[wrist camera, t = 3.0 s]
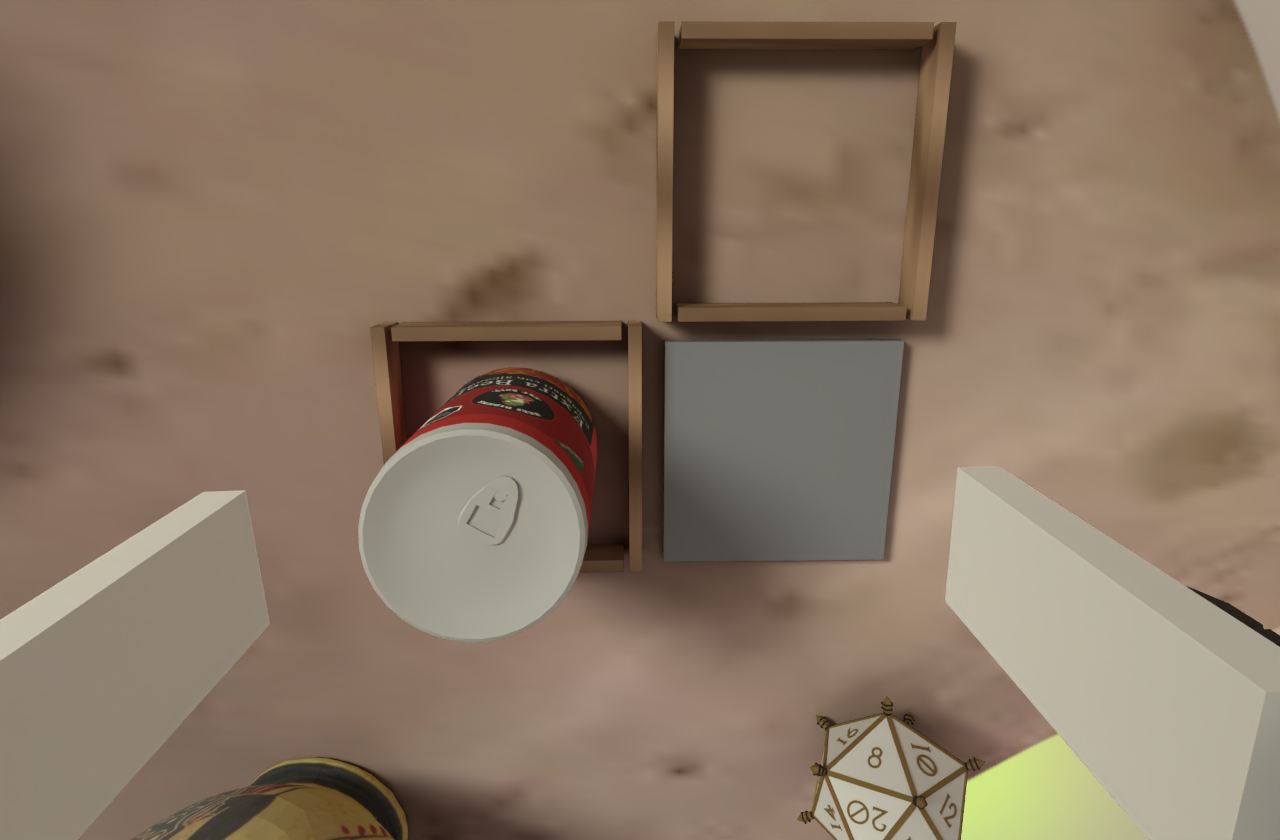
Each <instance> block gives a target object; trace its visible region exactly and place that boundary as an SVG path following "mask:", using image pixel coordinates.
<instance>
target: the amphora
mask: <svg viewBox="0 0 1280 840" xmlns="http://www.w3.org/2000/svg"><path fill="white" fill-rule="evenodd" d="M407 838H408V825H407V821H406V817H405V813H404V811H403V810H402V808H401V806H400V805H399V803H398V801H397V800H396V798H395V796H394V795H393V793H392V792H391V791H390V790H389V789H388V788H387V787H386V786H384V785H383V784H382V783H381V782H380V781H379V780H377V779H376V778H375V777H374V776H373V775H371V774H370V773H368V772H366V771H364V770H362V769H360V768H358V767H356V766H353V765H350V764H348V763H345V762H342V761H338V760H333V759H327V758H305V759H296V760H287V761H285V762H283V763H280V764H278V765H275V766H273V767H271V768H270V769H268V770H267V771H265V772H263V773H262V774H261V775H260V776H258V777H257V778H256V779H255V780H254V781H253V782H252V783H251V785H250V786H249V787H245V788H241V789H236V790H232V791H228V792H225V793H222V794H219V795H215V796H212V797H209V798H206V799H204V800H202V801H200V802H198V803H196V804H193V805H191V806H189V807H187V808H185V809H183V810H181V811H179V812H177V813H175V814H173V815H171V816H170V817H168V818H166V819H164V820H162V821H160V822H159V823H157V824H155V825H154V826H152V827H151V828H149V829H147V830H146V831H144V832H143V833H141V834H139V835H138V836H136V837H134V838H133V839H131V840H407Z"/></svg>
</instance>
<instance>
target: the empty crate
mask: <svg viewBox="0 0 1280 840" xmlns="http://www.w3.org/2000/svg"><path fill="white" fill-rule="evenodd" d="M956 23H957V22H941V23H940V24H938V25H937V26H935V27H934V22H682V23H681V27H680V30H679V49H836V50H915V49H917V48H918V47H920V46H922V54H921V65H920V76H919V86H918V97H917V108H916V119H915V130H914V141H913V151H912V162H911V173H910V184H909V195H908V206H907V217H906V227H905V238H904V249H903V260H902V271H901V282H900V293H899V303H898V304H896V303H892V302H883V303H676V318H677V320H678V322H701V321H906V319H909V320H926V315H927V305H928V295H929V286H930V276H931V266H932V256H933V247H934V237H935V227H936V217H937V208H938V198H939V188H940V179H941V169H942V159H943V149H944V140H945V130H946V120H947V110H948V101H949V91H950V81H951V72H952V62H953V52H954V42H955V33H956ZM673 110H674V22H659V25H658V31H657V207H656V318H657V321H658V322H672V217H673Z"/></svg>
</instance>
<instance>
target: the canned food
mask: <svg viewBox="0 0 1280 840" xmlns="http://www.w3.org/2000/svg"><path fill="white" fill-rule="evenodd" d="M597 448H598V442H597V435H596V428H595V425H594V423H593V420H592V417H591V414H590V412H589V411H588V409H587V407H586V406H585V404H584V403H583V401H582V399H581V398H580V397H579V396H578V395H577V394H576V393H575V392H574V391H573V390H572V389H571V388H570V387H569V386H567V385H566V384H565V383H563V382H562V381H560V380H559V379H558V378H556V377H553V376H551V375H549V374H547V373H544V372H542V371H537V370H533V369H528V368H504V369H499V370H493V371H491V372H488V373H485V374H483V375H480V376H478V377H476V378H475V379H473V380H472V381H470V382H468V383H467V384H465V385H464V386H463V387H462V388H461V389H460V390H459V391H458V392H457V393H456V394H455V395H454V396H453V397H452V398H450V399H449V400H448V401H447V402H446V403H445V404H444V405H443V406H442V407H441V408H440V409H439V410H438V411H437V412H436V413H435V414H434V415H433V416H432V417H431V418H430V419H429V420H428V421H427V422H426V423H425V424H424V425H423V426H422V427H421V428H420V429H419V430H418V431H416V432H415V433H414V434H413V435H412V436H411V437H410V438H409V439H408V440H407V441H406V442H405V443H404V444H403V445H402V446H401V447H400V448H399V449H398V450H397V451H396V452H395V453H394V455H393V456H392V457H391V458H390V459H389V460H388V461H387V462H386V463H385V464H384V466H383V467H382V469H381V470H380V472H379V473H378V475H377V476H376V478H375V479H374V481H373V483H372V485H371V486H370V488H369V490H368V493H367V495H366V498H365V500H364V503H363V505H362V509H361V515H360V520H359V526H358V535H359V551H360V554H361V558H362V562H363V566H364V570H365V572H366V574H367V576H368V578H369V580H370V582H371V584H372V586H373V588H374V590H375V591H376V592H377V594H378V595H379V596H380V597H381V599H382V600H383V601H384V603H385V604H386V605H387V606H388V607H389V608H390V609H391V610H392V611H393V612H395V613H396V614H397V615H398V616H399V617H400V618H401V619H403V620H404V621H406V622H407V623H409V624H411V625H412V626H414V627H416V628H417V629H419V630H421V631H424V632H426V633H429V634H431V635H434V636H437V637H439V638H444V639H449V640H454V641H459V642H486V641H492V640H498V639H504V638H506V637H509V636H512V635H515V634H518V633H520V632H523V631H525V630H527V629H528V628H530V627H532V626H534V625H535V624H537V623H539V622H540V621H542V620H543V619H544V618H545V617H546V616H548V615H549V614H550V613H551V612H552V611H553V610H555V609H556V608H557V607H558V605H559V604H560V603H561V602H562V600H563V599H564V598H565V596H566V595H567V594H568V593H569V591H570V590H571V588H572V586H573V584H574V581H575V579H576V577H577V575H578V573H579V571H580V568H581V566H582V562H583V559H584V555H585V551H586V547H587V541H588V535H589V529H590V520H591V510H592V501H593V491H594V482H595V473H596V463H597Z"/></svg>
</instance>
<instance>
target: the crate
mask: <svg viewBox="0 0 1280 840" xmlns="http://www.w3.org/2000/svg"><path fill="white" fill-rule="evenodd" d="M370 331H371V341H372V351H373V361H374V371H375V380H376V390H377V400H378V410H379V420H380V430H381V440H382V449H383V459H384V464H385V463H386V462H387V461H388V460H389V459H390V458H391V457H392V456H393V455H394V453H395V452H396V451H397V450H398V449H399V448H400V447H401V446H402V445H403V444H404V443H405V442H406V441H407V440H408V439H407V428H406V417H405V406H404V395H403V385H402V374H401V363H400V352H399V341H546V340H621V335H622V331H621V321H535V322H403V323H400V324H398V325H397V322H383V323H380V324H378V325H376V326H373V327H371V328H370ZM628 410H629V558H630V572H642V325H641V321H628ZM623 558H624V553H623V544H595V545H587V547H586V551H585V555H584V559H583V562H582V566H581V568H580V571H579V572H623Z"/></svg>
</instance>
